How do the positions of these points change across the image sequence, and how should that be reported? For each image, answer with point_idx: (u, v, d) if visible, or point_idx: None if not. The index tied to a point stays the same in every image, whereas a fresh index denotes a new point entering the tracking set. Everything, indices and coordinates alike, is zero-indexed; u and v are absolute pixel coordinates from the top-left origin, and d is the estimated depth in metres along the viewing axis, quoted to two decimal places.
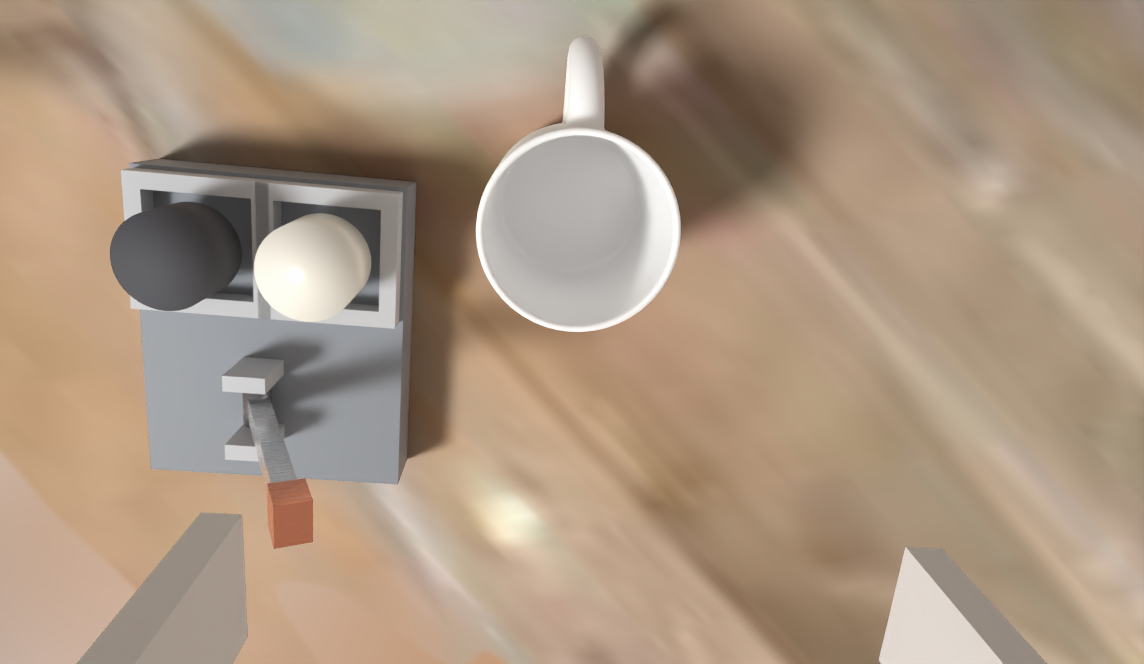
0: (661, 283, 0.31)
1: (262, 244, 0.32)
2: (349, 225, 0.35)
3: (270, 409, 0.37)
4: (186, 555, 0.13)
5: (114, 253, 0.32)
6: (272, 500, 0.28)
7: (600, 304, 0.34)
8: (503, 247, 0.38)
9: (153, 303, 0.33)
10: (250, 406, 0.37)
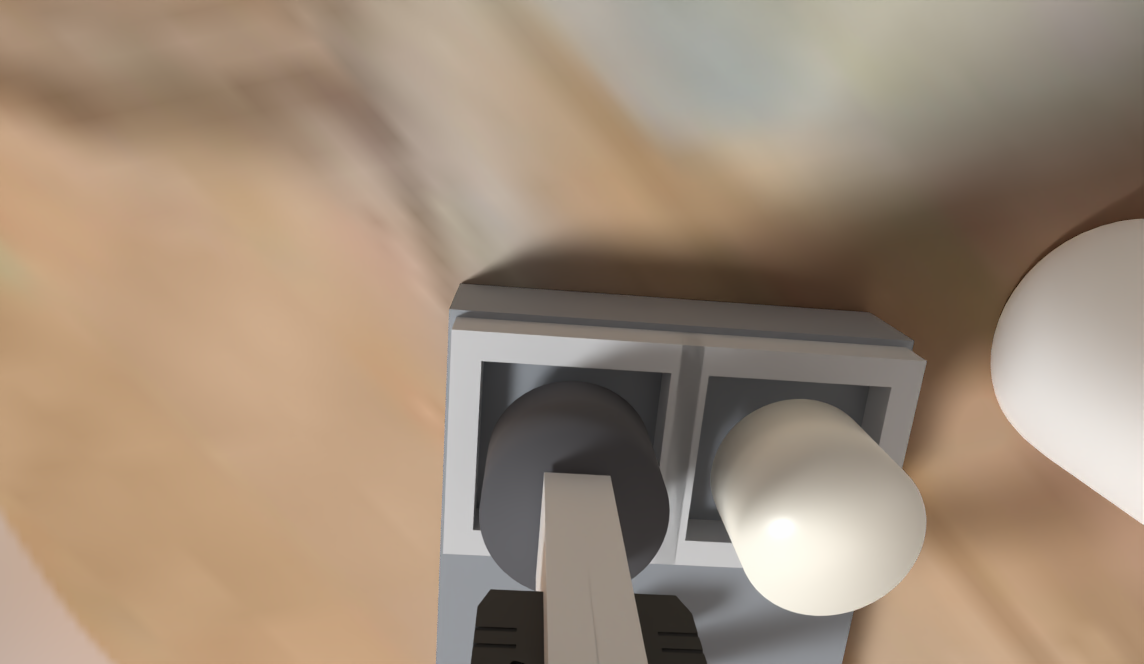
0: None
1: (763, 488, 0.17)
2: (855, 422, 0.20)
3: None
4: (560, 504, 0.15)
5: (488, 504, 0.17)
6: None
7: None
8: None
9: None
10: None
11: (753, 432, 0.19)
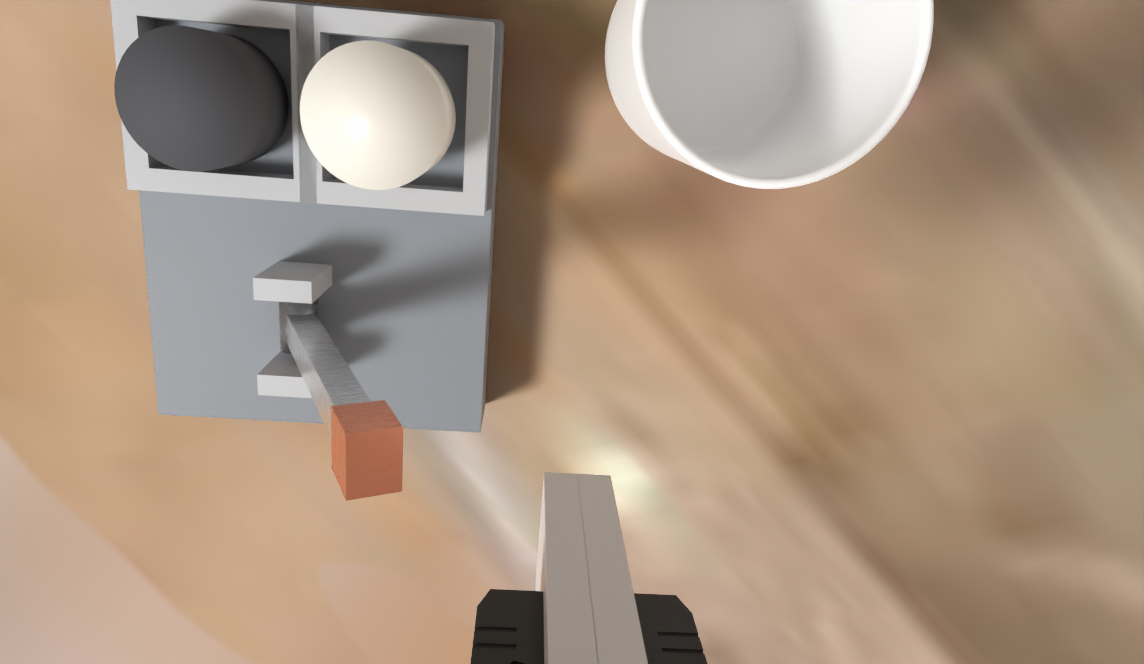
0: (899, 112, 0.21)
1: (311, 73, 0.23)
2: (427, 62, 0.25)
3: (318, 325, 0.27)
4: (560, 504, 0.15)
5: (120, 88, 0.24)
6: (343, 427, 0.19)
7: (784, 163, 0.24)
8: None
9: (174, 160, 0.24)
10: (291, 321, 0.27)
11: None
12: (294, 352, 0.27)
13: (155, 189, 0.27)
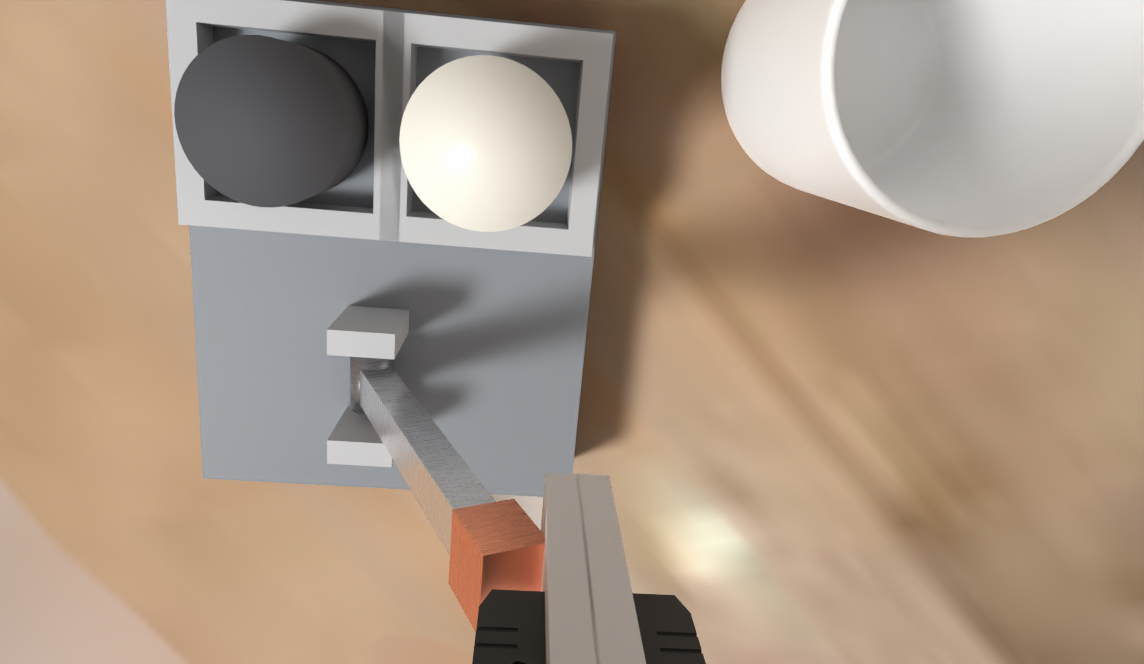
0: (1132, 148, 0.18)
1: (416, 94, 0.19)
2: None
3: (400, 383, 0.23)
4: (562, 504, 0.15)
5: (182, 109, 0.20)
6: (476, 543, 0.15)
7: (962, 203, 0.21)
8: None
9: (242, 194, 0.20)
10: (367, 379, 0.23)
11: None
12: (372, 416, 0.23)
13: (211, 224, 0.23)
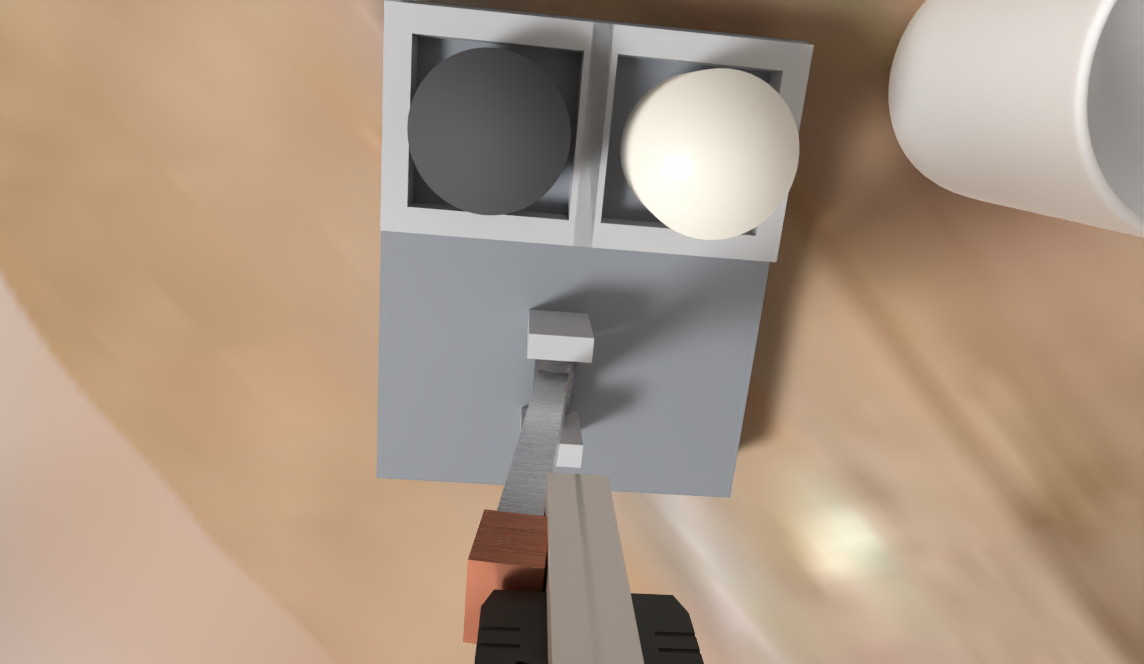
0: None
1: (653, 106, 0.19)
2: None
3: (562, 388, 0.23)
4: (564, 504, 0.15)
5: (415, 119, 0.20)
6: (474, 547, 0.14)
7: None
8: None
9: (466, 202, 0.21)
10: (537, 379, 0.24)
11: (653, 89, 0.21)
12: None
13: (412, 230, 0.23)
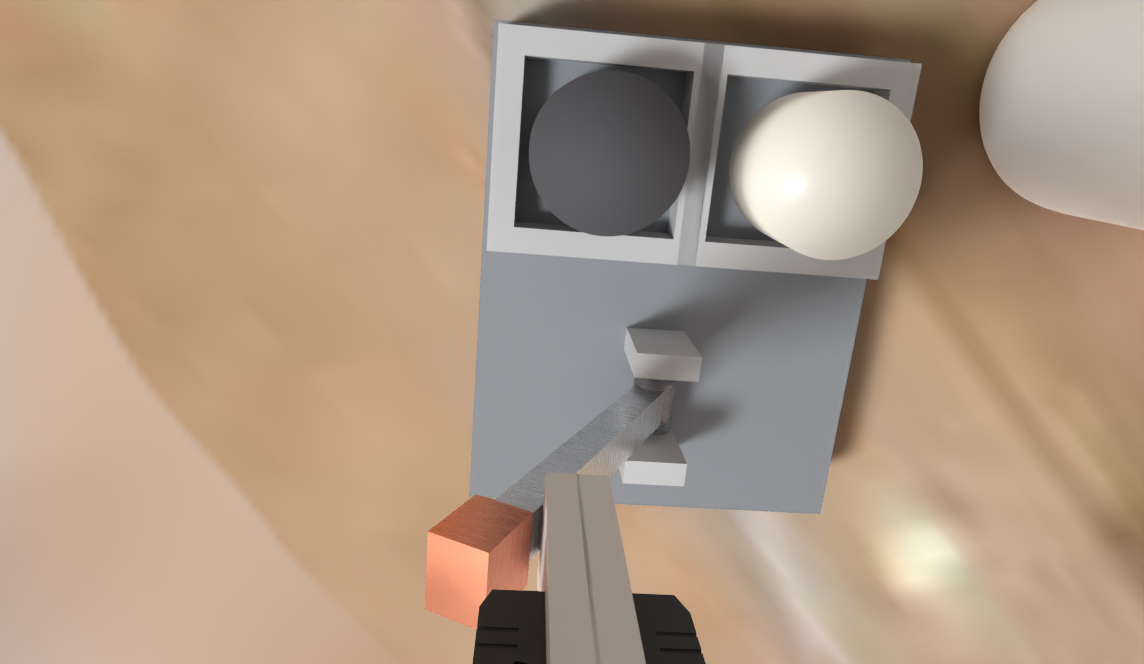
0: None
1: (780, 128, 0.19)
2: None
3: (644, 405, 0.23)
4: (562, 504, 0.15)
5: (536, 142, 0.20)
6: (441, 522, 0.15)
7: None
8: None
9: (585, 224, 0.21)
10: (626, 393, 0.24)
11: (768, 110, 0.21)
12: None
13: (518, 251, 0.23)
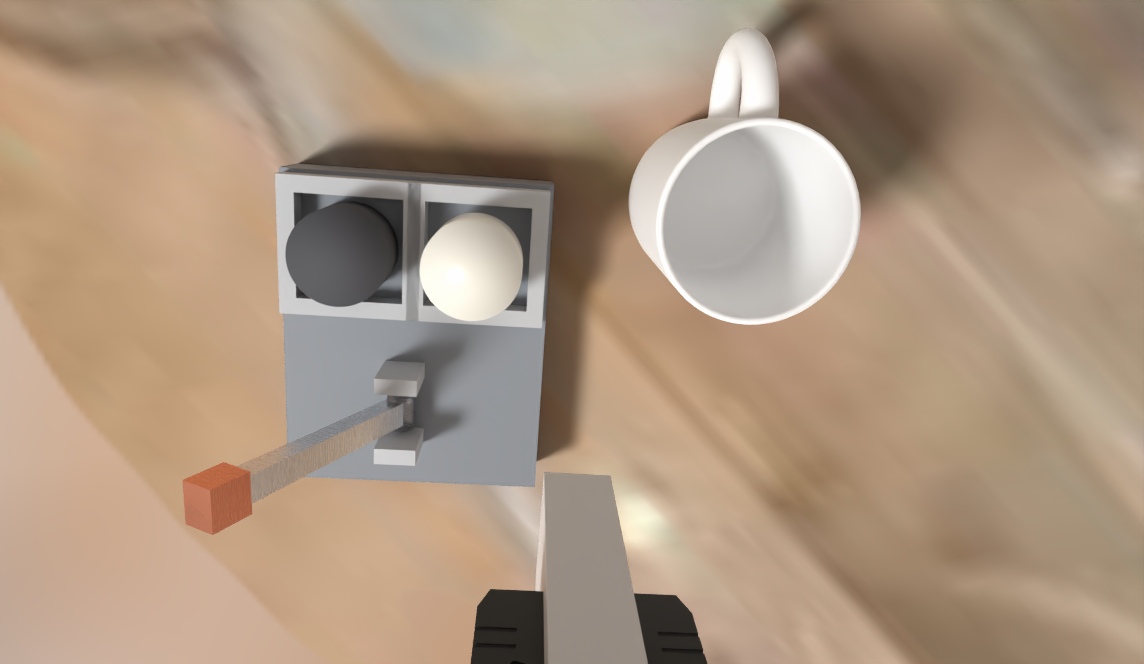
0: (839, 273, 0.31)
1: (429, 243, 0.32)
2: (504, 224, 0.35)
3: (380, 412, 0.36)
4: (560, 504, 0.15)
5: (289, 251, 0.33)
6: (193, 476, 0.28)
7: (762, 297, 0.34)
8: None
9: (324, 299, 0.34)
10: (375, 404, 0.37)
11: None
12: None
13: (300, 313, 0.36)
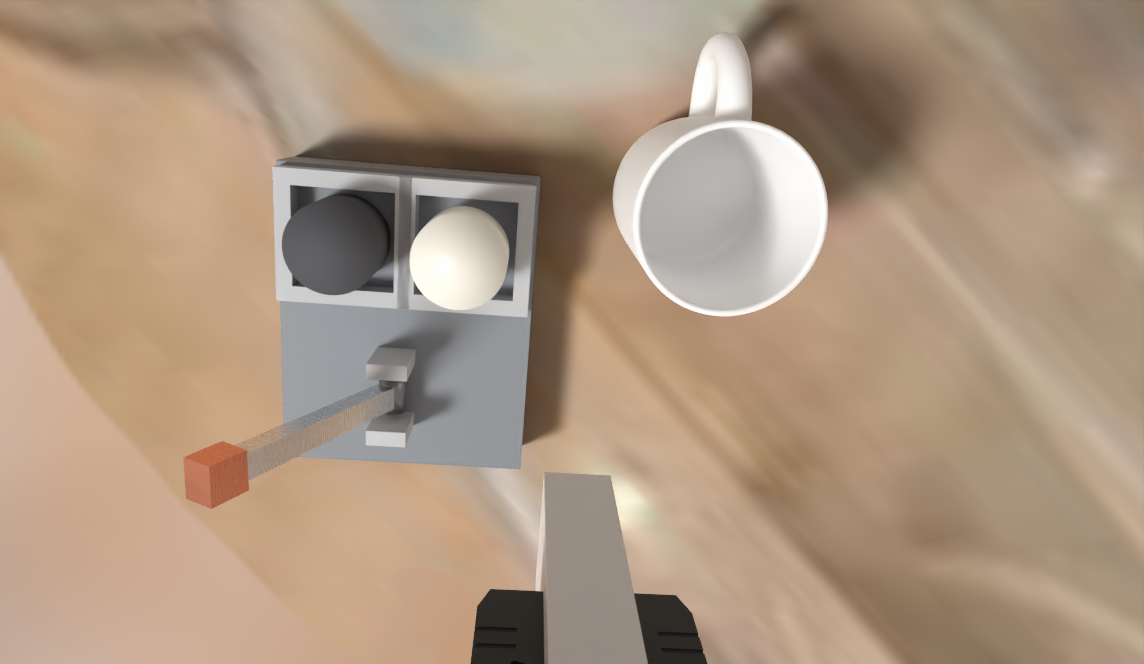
0: (807, 268, 0.32)
1: (418, 236, 0.34)
2: (491, 217, 0.36)
3: (372, 396, 0.38)
4: (560, 504, 0.15)
5: (286, 241, 0.35)
6: (193, 453, 0.30)
7: (736, 290, 0.35)
8: None
9: (319, 288, 0.35)
10: (367, 388, 0.39)
11: (431, 219, 0.36)
12: None
13: (295, 300, 0.38)
